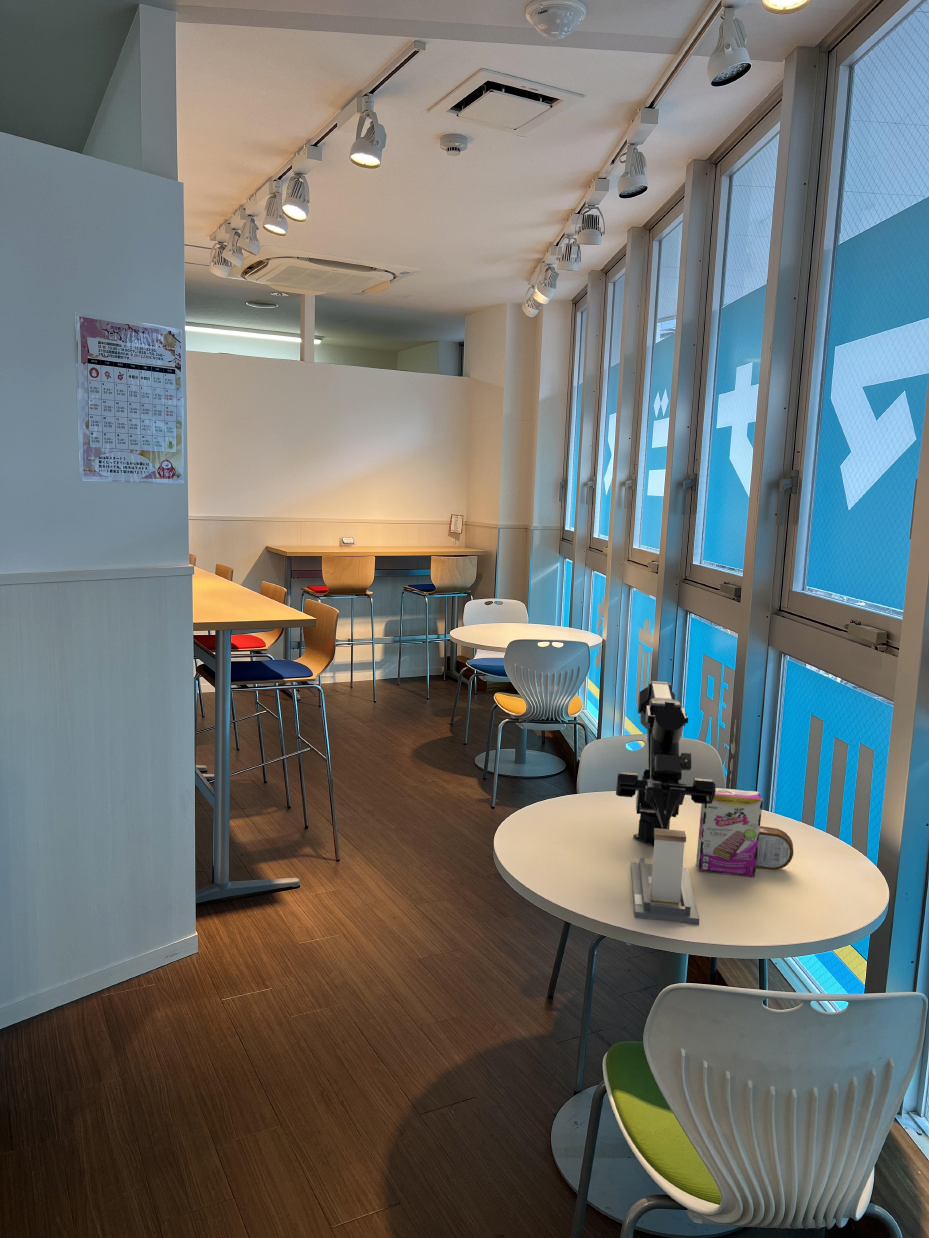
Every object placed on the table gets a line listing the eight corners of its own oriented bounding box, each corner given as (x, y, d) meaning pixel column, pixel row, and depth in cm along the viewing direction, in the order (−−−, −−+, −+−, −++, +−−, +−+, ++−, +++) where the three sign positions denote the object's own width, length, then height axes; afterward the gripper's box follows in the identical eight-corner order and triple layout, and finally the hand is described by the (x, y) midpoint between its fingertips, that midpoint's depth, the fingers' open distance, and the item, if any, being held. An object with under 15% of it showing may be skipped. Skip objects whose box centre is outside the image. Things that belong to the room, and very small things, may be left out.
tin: (790, 867, 175) (794, 828, 173) (792, 874, 172) (796, 834, 170) (714, 857, 178) (717, 819, 177) (714, 863, 175) (718, 825, 174)
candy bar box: (698, 872, 170) (704, 793, 168) (695, 862, 175) (701, 785, 173) (756, 878, 169) (763, 798, 167) (751, 868, 174) (758, 790, 172)
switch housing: (630, 866, 172) (631, 854, 172) (686, 872, 170) (687, 860, 170) (635, 917, 150) (635, 903, 150) (699, 924, 149) (700, 910, 148)
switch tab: (649, 893, 157) (654, 828, 155) (679, 896, 156) (684, 830, 154) (650, 900, 154) (655, 834, 152) (681, 903, 153) (686, 837, 151)
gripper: (620, 732, 168) (617, 805, 158) (718, 739, 165) (721, 814, 156) (617, 759, 176) (614, 830, 167) (710, 767, 174) (712, 839, 164)
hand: (664, 828), depth 163 cm, fingers closed
